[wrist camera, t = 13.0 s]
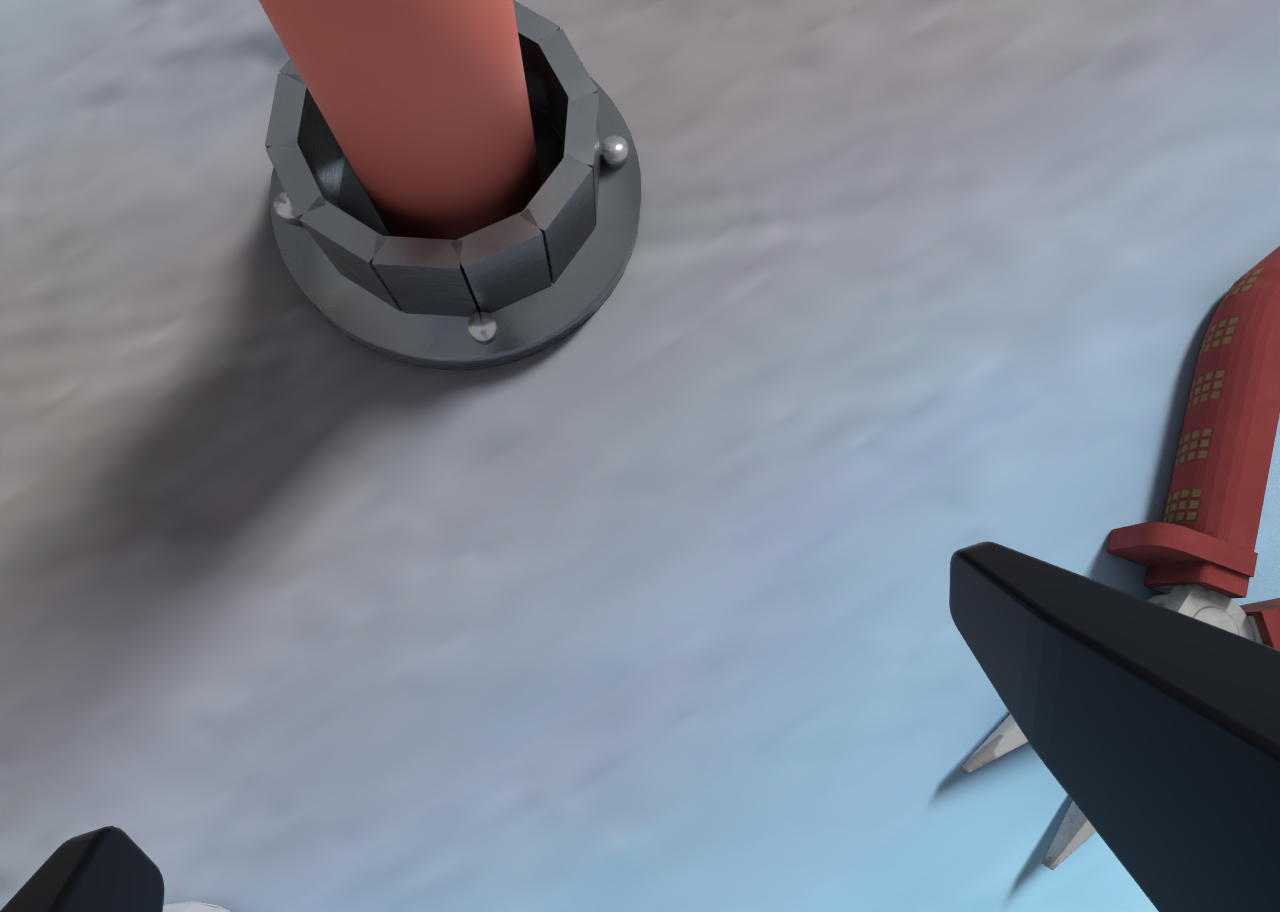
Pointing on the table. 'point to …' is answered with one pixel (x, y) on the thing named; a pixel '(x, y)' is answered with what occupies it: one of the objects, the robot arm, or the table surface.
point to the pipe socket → (480, 262)
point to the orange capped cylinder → (421, 105)
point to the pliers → (1205, 496)
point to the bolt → (193, 907)
